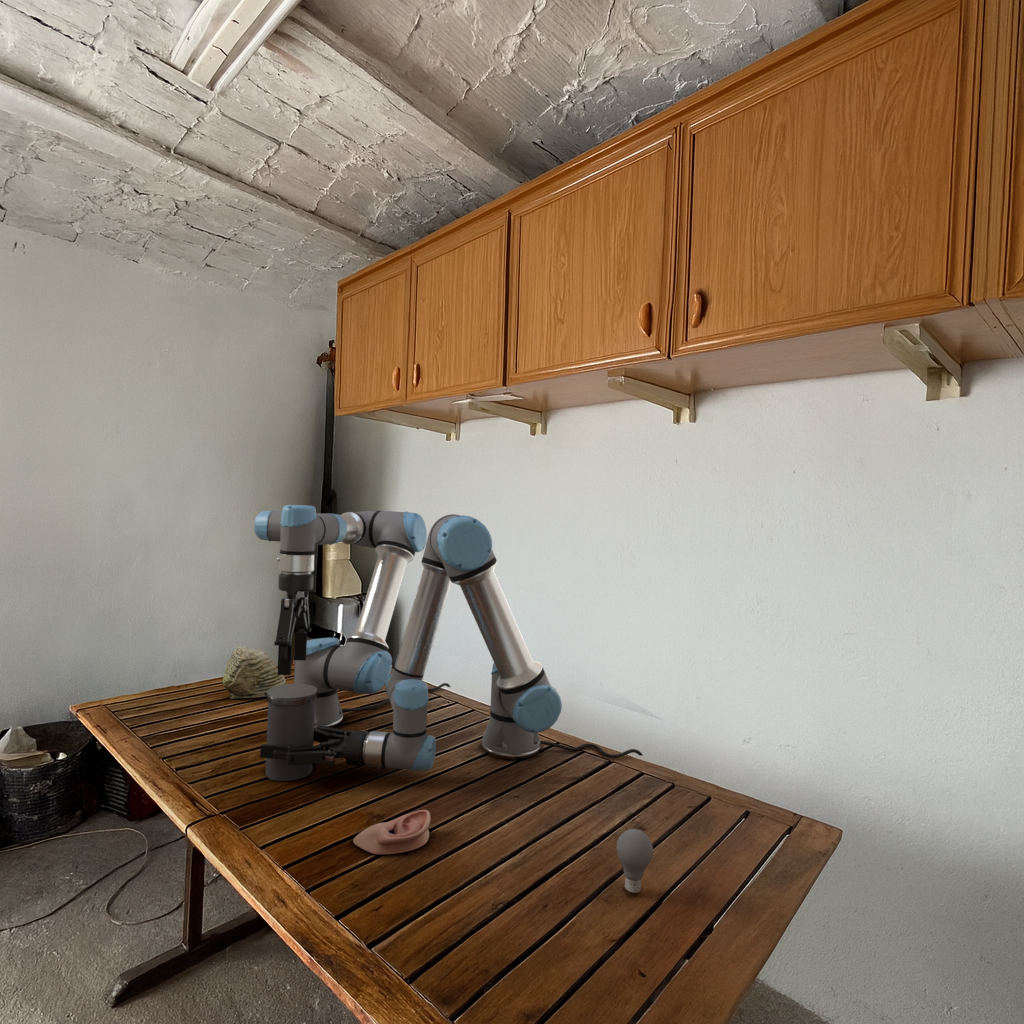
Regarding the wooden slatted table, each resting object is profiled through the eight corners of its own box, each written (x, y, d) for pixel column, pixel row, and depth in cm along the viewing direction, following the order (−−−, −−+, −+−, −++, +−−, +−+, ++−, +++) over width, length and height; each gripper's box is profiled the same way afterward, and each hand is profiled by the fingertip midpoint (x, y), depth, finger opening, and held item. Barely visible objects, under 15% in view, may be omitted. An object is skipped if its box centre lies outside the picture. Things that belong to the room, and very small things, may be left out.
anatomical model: (346, 827, 114) (372, 798, 125) (345, 849, 114) (372, 818, 125) (416, 839, 111) (436, 808, 122) (415, 861, 111) (436, 828, 123)
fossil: (218, 695, 195) (220, 647, 195) (278, 685, 208) (279, 640, 207) (228, 703, 189) (230, 653, 188) (289, 692, 201) (290, 645, 201)
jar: (288, 759, 152) (291, 683, 151) (321, 768, 148) (324, 690, 147) (255, 775, 143) (258, 694, 142) (290, 785, 138) (293, 702, 138)
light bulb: (610, 879, 108) (613, 822, 108) (644, 879, 109) (647, 822, 109) (619, 902, 102) (622, 840, 102) (655, 901, 103) (658, 840, 103)
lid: (290, 688, 152) (291, 681, 152) (326, 695, 148) (327, 688, 148) (255, 700, 142) (255, 692, 142) (293, 708, 138) (293, 701, 138)
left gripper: (294, 566, 156) (290, 653, 156) (262, 578, 132) (257, 681, 132) (325, 567, 157) (321, 654, 157) (298, 579, 132) (294, 682, 133)
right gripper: (349, 787, 132) (247, 779, 134) (380, 745, 155) (292, 739, 157) (351, 751, 132) (248, 744, 134) (381, 715, 155) (293, 709, 157)
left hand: (292, 667), depth 145 cm, fingers open, 12 cm apart
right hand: (272, 741), depth 145 cm, fingers closed on jar, 10 cm apart
